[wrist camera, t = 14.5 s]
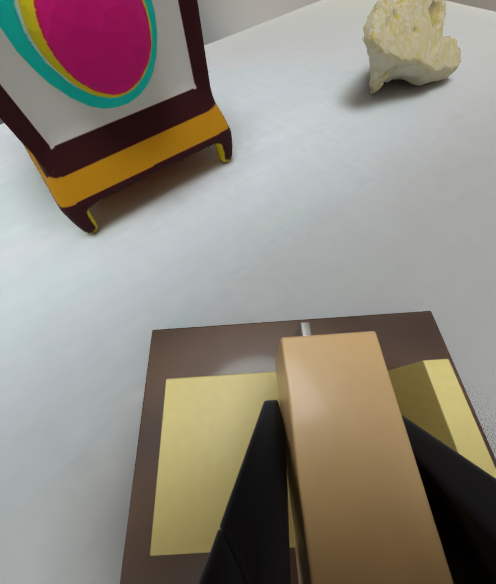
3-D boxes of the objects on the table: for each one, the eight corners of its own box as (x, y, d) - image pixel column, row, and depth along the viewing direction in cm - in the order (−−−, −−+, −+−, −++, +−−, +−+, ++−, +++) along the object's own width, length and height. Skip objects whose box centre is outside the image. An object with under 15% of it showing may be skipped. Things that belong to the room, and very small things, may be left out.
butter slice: (436, 491, 12) (524, 532, 8) (414, 493, 12) (489, 534, 8) (397, 371, 15) (448, 358, 11) (378, 373, 15) (423, 360, 11)
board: (535, 587, 11) (559, 602, 10) (124, 610, 12) (113, 627, 11) (422, 315, 18) (431, 310, 17) (157, 333, 18) (152, 329, 17)
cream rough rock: (412, 73, 37) (358, -22, 30) (472, 34, 31) (423, -100, 24) (382, 157, 36) (318, 77, 29) (439, 133, 29) (375, 23, 22)
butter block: (355, 498, 12) (402, 542, 8) (184, 508, 12) (149, 556, 8) (330, 377, 15) (357, 365, 11) (190, 386, 15) (165, 378, 11)
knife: (334, 547, 10) (597, 1032, 2) (283, 550, 10) (367, 1043, 2) (303, 358, 14) (364, 291, 6) (266, 360, 14) (275, 297, 6)
